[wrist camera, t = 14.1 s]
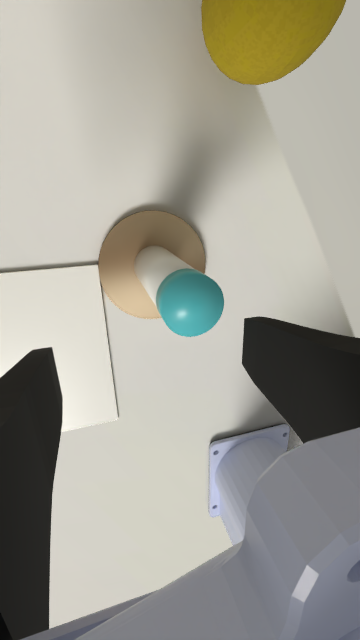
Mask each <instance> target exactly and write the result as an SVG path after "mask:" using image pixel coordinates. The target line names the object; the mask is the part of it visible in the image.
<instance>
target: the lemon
mask: <svg viewBox="0 0 360 640" xmlns="http://www.w3.org/2000/svg"><path fill="white" fill-rule="evenodd" d="M345 2H346V0H202V7H201V10H202V31H203V35H204V40H205V44H206V47H207V49H208V51H209V54H210V56H211V58H212V60H213V61H214V63H215V64H216V65H217V67H218V68H219V70H220V71H221V72H223V73H224V74H225V75H226V76H227V77H229V78H230V79H232V80H235V81H237V82H240V83H242V84H252V85H259V84H264V83H268V82H272V81H275V80H278V79H280V78H282V77H283V76H285V75H287V74H288V73H290V72H291V71H293V70H295V69H296V68H297V67H299V66H300V65H301V64H303V63H304V62H305V61H306V60H307V59H308V58H309V57H310V56H311V55H312V53H313V52H314V51H315V50H316V49H317V48H318V47H319V46H320V45H321V43H322V42H323V41H324V40H325V39H326V37H327V36H328V35H329V33H330V32H331V30H332V28H333V26H334V25H335V23H336V21H337V19H338V18H339V16H340V14H341V12H342V10H343V7H344V5H345Z"/></svg>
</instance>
